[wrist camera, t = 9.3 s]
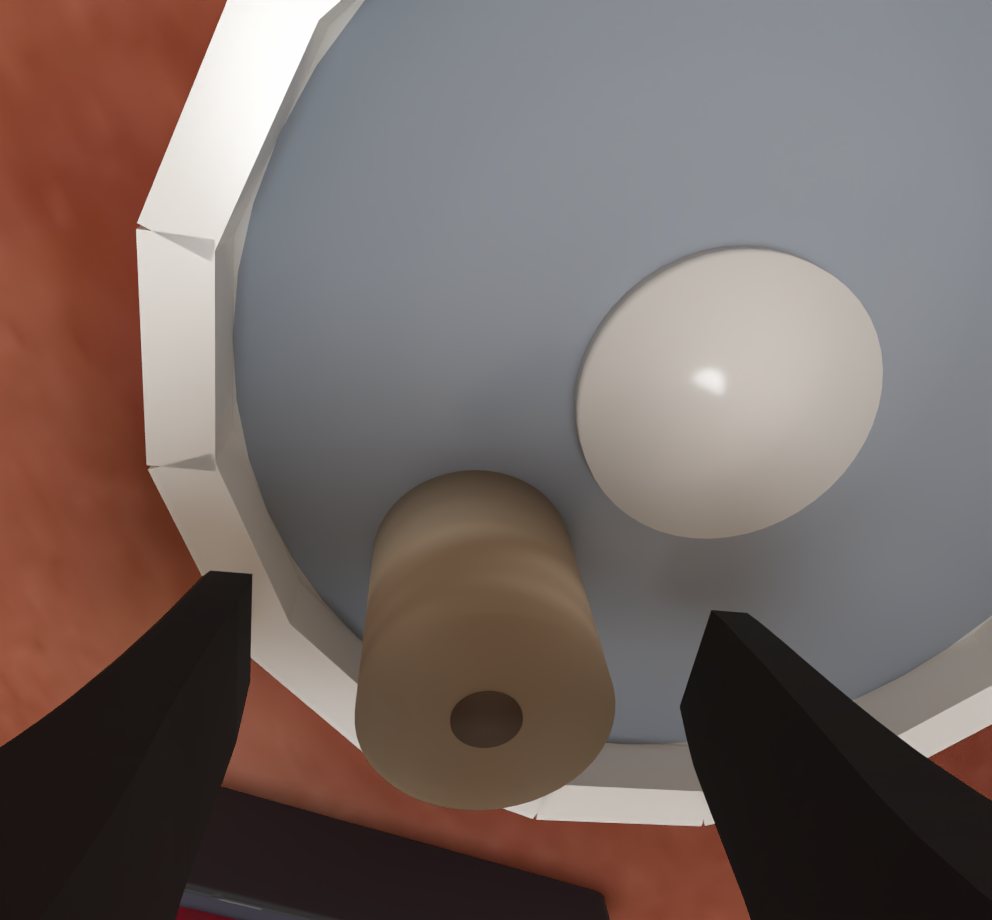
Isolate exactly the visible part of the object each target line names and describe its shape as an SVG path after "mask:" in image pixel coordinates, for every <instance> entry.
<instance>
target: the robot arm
mask: <svg viewBox="0 0 992 920" xmlns="http://www.w3.org/2000/svg"><path fill="white" fill-rule="evenodd" d="M251 616H252V574H249V573H236V572H223V571H211V570H210V571H209V572H208V573H206V574H205V575H204V576H202V577H201V578H200V579H199V580H198V581H197V582H196V584H195V585H194V586H193V587H192V588H191V589H190V590H189V591H188V592H187V593H186V594H185V595H184V596H183V597H182V598H181V599H180V600H179V601H178V602H177V603H176V604H175V605H174V606H173V607H172V608H171V609H170V610H169V611H168V612H167V613H166V614H165V615H164V616H163V617H162V618H161V619H160V620H159V621H158V622H157V623H156V624H155V625H153V626H152V627H151V628H150V629H149V630H148V631H147V632H146V633H145V634H144V635H143V636H141V637H140V638H139V639H138V640H137V641H136V642H135V643H134V644H133V645H132V646H131V647H129V648H128V649H127V650H126V651H125V652H124V653H123V654H122V655H121V656H120V657H118V658H117V659H116V660H115V661H114V662H113V663H111V664H110V665H109V666H108V667H107V668H105V669H104V670H103V671H102V672H101V673H99V674H98V675H97V676H96V677H94V678H93V679H92V680H91V681H90V682H88V683H87V684H86V685H85V686H84V687H82V688H81V689H80V690H79V691H77V692H76V693H75V694H74V695H73V696H71V697H70V698H69V699H67V700H66V701H65V702H63V703H62V704H61V705H59V706H58V707H57V708H56V709H54V710H53V711H52V712H50V713H49V714H47V715H46V716H45V717H43V718H42V719H41V720H39V721H38V722H37V723H35V724H34V725H32V726H31V727H29V728H28V729H26V730H25V731H24V732H22V733H21V734H19V735H18V736H16V737H15V738H14V739H12V740H11V741H9V742H8V743H6V744H5V745H3V746H2V747H0V920H175V919H176V915H177V912H178V909H179V906H180V902H181V899H182V896H183V893H184V889H185V886H186V883H187V880H188V877H189V875H190V872H191V869H192V866H193V863H194V861H195V858H196V855H197V852H198V849H199V846H200V844H201V841H202V838H203V835H204V832H205V830H206V827H207V824H208V821H209V818H210V815H211V813H212V810H213V807H214V804H215V801H216V799H217V796H218V793H219V790H220V787H221V784H222V782H223V779H224V776H225V773H226V770H227V767H228V764H229V762H230V759H231V756H232V753H233V750H234V747H235V744H236V741H237V736H238V732H239V728H240V724H241V719H242V715H243V710H244V706H245V701H246V697H247V692H248V688H249V683H250V661H251ZM680 711H681V716H682V720H683V725H684V729H685V734H686V739H687V743H688V747H689V751H690V755H691V759H692V763H693V766H694V769H695V772H696V775H697V777H698V780H699V783H700V786H701V788H702V791H703V794H704V796H705V799H706V802H707V804H708V807H709V810H710V812H711V815H712V817H713V820H714V823H715V825H716V828H717V830H718V833H719V836H720V838H721V841H722V843H723V846H724V848H725V851H726V854H727V856H728V859H729V861H730V864H731V867H732V869H733V872H734V874H735V877H736V880H737V882H738V885H739V887H740V890H741V893H742V895H743V898H744V901H745V904H746V906H747V909H748V912H749V915H750V918H751V920H992V801H991V800H989V799H988V798H986V797H984V796H983V795H981V794H980V793H978V792H977V791H975V790H974V789H972V788H971V787H969V786H968V785H966V784H965V783H963V782H962V781H960V780H959V779H957V778H956V777H954V776H953V775H951V774H950V773H948V772H947V771H945V770H944V769H942V768H941V767H939V766H938V765H936V764H935V763H934V762H932V761H931V760H929V759H928V758H927V757H925V756H924V755H922V754H921V753H920V752H918V751H917V750H915V749H914V748H913V747H911V746H910V745H909V744H907V743H906V742H905V741H903V740H902V739H901V738H900V737H898V736H897V735H896V734H894V733H893V732H892V731H890V730H889V729H888V728H886V727H885V726H884V725H883V724H881V723H880V722H879V721H877V720H876V719H875V718H874V717H872V716H871V715H870V714H869V713H867V712H866V711H865V710H864V709H862V708H861V707H860V706H859V705H857V704H856V703H855V702H854V701H852V700H851V699H850V698H849V697H848V696H846V695H845V694H844V693H843V692H842V691H840V690H839V689H838V688H837V687H836V686H834V685H833V684H832V683H831V682H830V681H829V680H827V679H826V678H825V677H824V676H823V675H821V674H820V673H819V672H818V671H817V670H816V669H814V668H813V667H812V666H811V665H810V664H809V663H807V662H806V661H805V660H804V659H803V658H802V657H801V656H799V655H798V654H797V653H796V652H795V651H794V650H792V649H791V648H790V647H789V646H788V645H787V644H785V643H784V642H783V641H782V640H781V639H779V638H778V637H777V636H776V635H775V634H774V633H772V632H771V631H770V630H769V629H767V628H766V627H765V626H764V625H763V624H761V623H760V622H759V621H757V620H756V619H755V618H753V617H752V616H751V615H749V614H748V613H743V612H730V611H718V610H711V612H710V616H709V619H708V622H707V625H706V628H705V631H704V634H703V637H702V640H701V643H700V646H699V649H698V652H697V655H696V658H695V661H694V664H693V667H692V670H691V673H690V676H689V679H688V682H687V686H686V689H685V692H684V695H683V698H682V701H681V704H680Z"/></svg>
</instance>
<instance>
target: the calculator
mask: <svg viewBox="0 0 992 920" xmlns="http://www.w3.org/2000/svg"><path fill="white" fill-rule="evenodd" d="M175 920H610V919H609V915H608V911H607V907H606V904H605V900H604V897H603V895H602V894H600V893H599V892H596V891H594V890H590V889H587V888H583V887H580V886H576V885H573V884H569V883H565V882H562V881H558V880H555V879H551V878H547V877H544V876H540V875H537V874H533V873H529V872H526V871H522V870H519V869H515V868H511V867H508V866H504V865H501V864H497V863H493V862H490V861H486V860H483V859H479V858H475V857H472V856H468V855H465V854H461V853H457V852H454V851H450V850H447V849H443V848H439V847H436V846H432V845H429V844H425V843H421V842H418V841H414V840H411V839H407V838H403V837H400V836H396V835H393V834H389V833H385V832H382V831H378V830H375V829H371V828H367V827H364V826H360V825H357V824H353V823H349V822H346V821H342V820H339V819H335V818H331V817H328V816H324V815H320V814H317V813H313V812H310V811H306V810H302V809H299V808H295V807H292V806H288V805H284V804H281V803H277V802H274V801H270V800H266V799H263V798H259V797H256V796H252V795H248V794H245V793H241V792H238V791H234V790H230V789H227V788H223V787H220V790H219V793H218V796H217V799H216V801H215V804H214V807H213V810H212V813H211V815H210V818H209V821H208V824H207V827H206V830H205V832H204V835H203V838H202V841H201V844H200V846H199V849H198V852H197V855H196V858H195V861H194V863H193V866H192V869H191V872H190V875H189V877H188V880H187V883H186V886H185V889H184V893H183V896H182V899H181V902H180V906H179V909H178V912H177V915H176V919H175Z"/></svg>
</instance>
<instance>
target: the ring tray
mask: <svg viewBox="0 0 992 920" xmlns="http://www.w3.org/2000/svg"><path fill="white" fill-rule="evenodd" d="M137 223H138V224H140V225H142V226H140V227H139V228H137V229H136V237H137V259H138V282H139V305H140V328H141V350H142V373H143V396H144V419H145V441H146V464H147V465H151V466H150V467H149V469H148V471H149V473H150V475H151V477H152V479H153V481H154V483H155V485H156V487H157V489H158V491H159V493H160V495H161V497H162V499H163V501H164V503H165V504H166V506H167V508H168V510H169V512H170V514H171V516H172V518H173V520H174V522H175V524H176V526H177V528H178V530H179V532H180V534H181V536H182V538H183V540H184V542H185V544H186V546H187V548H188V550H189V552H190V554H191V556H192V558H193V560H194V561H195V563H196V565H197V567H198V569H199V571H200V573H201V575H202V576H204V575H205V574H206V573H208V572H209V571H210V570H211V571H223V572H236V573H249V574H252V616H251V658H252V659H253V660H254V661H255V662H256V663H258V664H259V665H260V666H261V667H262V668H264V669H265V670H266V671H267V672H268V673H270V674H271V675H272V676H273V677H274V678H275V679H277V680H278V681H279V682H280V683H281V684H283V685H284V686H285V687H286V688H287V689H289V690H290V691H291V692H292V693H293V694H295V695H296V696H297V697H298V698H299V699H300V700H302V701H303V702H304V703H305V704H306V705H308V706H309V707H310V708H311V709H312V710H314V711H315V712H316V713H317V714H318V715H319V716H321V717H322V718H323V719H324V720H325V721H327V722H328V723H329V724H330V725H331V726H333V727H334V728H335V729H336V730H337V731H338V732H340V733H341V734H342V735H343V736H344V737H346V738H347V739H348V740H349V741H350V742H352V743H353V744H354V745H355V746H356V747H357V748H359V749H360V750H361V748H360V745H359V742H358V739H357V736H356V730H355V703H356V695H357V686H358V677H359V669H360V660H361V651H362V643H363V634H364V625H365V617H366V608H367V599H368V591H369V582H370V573H371V565H372V556H373V548H374V543H375V538H376V535H377V532H378V529H379V527H380V525H381V523H382V521H383V519H384V517H385V516H386V514H387V513H388V511H389V510H390V509H391V507H392V506H393V505H394V504H395V503H396V502H397V501H398V500H399V499H400V498H401V497H402V496H403V495H405V494H406V493H407V492H408V491H410V490H411V489H413V488H414V487H416V486H418V485H419V484H421V483H423V482H425V481H427V480H430V479H432V478H434V477H437V476H441V475H444V474H447V473H452V472H458V471H467V470H484V471H492V472H499V473H503V474H506V475H510V476H513V477H515V478H518V479H520V480H522V481H525V482H526V483H528V484H530V485H531V486H533V487H535V488H536V489H537V490H539V491H540V492H541V493H543V494H544V495H545V496H546V497H547V498H548V499H549V500H550V501H551V502H552V503H553V504H554V506H555V507H556V509H557V510H558V511H559V513H560V515H561V517H562V518H563V520H564V522H565V525H566V528H567V531H568V534H569V538H570V541H571V544H572V548H573V551H574V555H575V558H576V561H577V565H578V568H579V572H580V575H581V578H582V582H583V585H584V589H585V592H586V595H587V599H588V602H589V606H590V609H591V612H592V616H593V619H594V623H595V626H596V629H597V633H598V636H599V640H600V643H601V646H602V650H603V653H604V657H605V660H606V663H607V667H608V670H609V674H610V677H611V680H612V684H613V687H614V693H615V700H616V703H615V717H614V722H613V727H612V729H611V732H610V735H609V737H608V740H607V741H606V743H605V745H604V747H603V749H602V750H601V752H600V753H599V754H598V756H597V757H596V758H595V760H594V761H593V762H592V763H591V764H590V765H589V766H588V767H587V768H586V769H585V770H584V771H583V772H582V773H581V774H580V775H578V776H577V777H576V778H575V779H574V780H572V781H571V782H569V783H568V784H566V785H565V786H563V787H562V788H560V789H558V790H556V791H554V792H552V793H550V794H548V795H546V796H544V797H541V798H539V799H536V800H534V801H531V802H527V803H524V804H520V805H517V806H512V807H507V808H503V809H506V810H509V811H512V812H515V813H517V814H520V815H523V816H526V817H528V818H531V819H533V818H534V817H535V816H536V820H558V821H582V822H607V823H632V824H657V825H681V826H701V825H702V823H703V822H704V825H705V826H707V825H711V824H715V823H714V820H713V817H712V815H711V812H710V810H709V807H708V804H707V802H706V799H705V796H704V794H703V791H702V788H701V786H700V783H699V780H698V777H697V775H696V772H695V769H694V766H693V763H692V759H691V755H690V751H689V747H688V743H687V739H686V734H685V729H684V725H683V720H682V716H681V711H680V704H681V701H682V698H683V695H684V692H685V689H686V686H687V682H688V679H689V676H690V673H691V670H692V667H693V664H694V661H695V658H696V655H697V652H698V649H699V646H700V643H701V640H702V637H703V634H704V631H705V628H706V625H707V622H708V619H709V616H710V612H711V610H718V611H730V612H743V613H748V614H749V615H751V616H752V617H753V618H755V619H756V620H757V621H759V622H760V623H761V624H763V625H764V626H765V627H766V628H767V629H769V630H770V631H771V632H772V633H774V634H775V635H776V636H777V637H778V638H779V639H781V640H782V641H783V642H784V643H785V644H787V645H788V646H789V647H790V648H791V649H792V650H794V651H795V652H796V653H797V654H798V655H799V656H801V657H802V658H803V659H804V660H805V661H806V662H807V663H809V664H810V665H811V666H812V667H813V668H814V669H816V670H817V671H818V672H819V673H820V674H821V675H823V676H824V677H825V678H826V679H827V680H829V681H830V682H831V683H832V684H833V685H834V686H836V687H837V688H838V689H839V690H840V691H842V692H843V693H844V694H845V695H846V696H848V697H849V698H850V699H851V700H852V701H854V702H855V703H856V704H857V705H859V706H860V707H861V708H862V709H864V710H865V711H866V712H867V713H869V714H870V715H871V716H872V717H874V718H875V719H876V720H877V721H879V722H880V723H881V724H883V725H884V726H885V727H886V728H888V729H889V730H890V731H892V732H893V733H894V734H896V735H897V736H898V737H900V738H901V739H902V740H903V741H905V742H906V743H907V744H909V745H910V746H911V747H913V748H914V749H915V750H917V751H918V752H920V753H921V754H922V755H924V756H925V757H927V758H928V757H930V756H932V755H934V754H936V753H938V752H940V751H942V750H943V749H945V748H947V747H949V746H951V745H953V744H955V743H957V742H959V741H961V740H963V739H964V738H966V737H968V736H970V735H972V734H974V733H976V732H978V731H980V730H982V729H984V728H985V727H987V726H989V725H991V724H992V0H227V3H226V5H225V8H224V10H223V13H222V15H221V18H220V20H219V22H218V25H217V27H216V30H215V32H214V35H213V37H212V40H211V42H210V45H209V47H208V50H207V52H206V55H205V57H204V59H203V62H202V64H201V67H200V69H199V72H198V74H197V77H196V79H195V82H194V84H193V87H192V89H191V91H190V94H189V96H188V99H187V101H186V104H185V106H184V109H183V111H182V114H181V116H180V119H179V121H178V124H177V126H176V128H175V131H174V133H173V136H172V138H171V141H170V143H169V146H168V148H167V151H166V153H165V156H164V158H163V161H162V163H161V165H160V168H159V170H158V173H157V175H156V178H155V180H154V183H153V185H152V188H151V190H150V193H149V195H148V197H147V200H146V202H145V205H144V207H143V210H142V212H141V215H140V217H139V220H138V222H137ZM361 751H362V750H361Z"/></svg>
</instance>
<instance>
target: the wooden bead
mask: <svg viewBox="0 0 992 920" xmlns="http://www.w3.org/2000/svg"><path fill="white" fill-rule="evenodd" d="M615 703H616V700H615V693H614V687H613V684H612V680H611V677H610V674H609V670H608V667H607V663H606V660H605V657H604V653H603V650H602V646H601V643H600V640H599V636H598V633H597V629H596V626H595V623H594V619H593V616H592V612H591V609H590V606H589V602H588V599H587V595H586V592H585V589H584V585H583V582H582V578H581V575H580V572H579V568H578V565H577V561H576V558H575V555H574V551H573V548H572V544H571V541H570V538H569V534H568V531H567V528H566V525H565V522H564V520H563V518H562V517H561V515H560V513H559V511H558V510H557V509H556V507H555V506H554V504H553V503H552V502H551V501H550V500H549V499H548V498H547V497H546V496H545V495H544V494H543V493H541V492H540V491H539V490H537V489H536V488H535V487H533V486H531V485H530V484H528V483H526V482H525V481H522V480H520V479H518V478H515V477H513V476H510V475H506V474H503V473H499V472H492V471H484V470H467V471H458V472H452V473H447V474H444V475H441V476H437V477H434V478H432V479H430V480H427V481H425V482H423V483H421V484H419V485H418V486H416V487H414V488H413V489H411V490H410V491H408V492H407V493H406V494H405V495H403V496H402V497H401V498H400V499H399V500H398V501H397V502H396V503H395V504H394V505H393V506H392V507H391V509H390V510H389V511H388V513H387V514H386V516H385V517H384V519H383V521H382V523H381V525H380V527H379V529H378V532H377V535H376V538H375V543H374V548H373V556H372V565H371V573H370V582H369V591H368V599H367V608H366V617H365V625H364V634H363V643H362V651H361V660H360V669H359V677H358V686H357V695H356V703H355V730H356V736H357V739H358V742H359V745H360V748H361V750H362V752H363V753H364V755H365V757H366V759H367V761H368V762H369V763H370V764H371V766H372V767H373V768H374V770H375V771H376V772H377V773H378V774H379V775H380V776H381V777H382V778H383V779H385V780H386V781H387V782H388V783H390V784H391V785H392V786H394V787H395V788H397V789H398V790H400V791H402V792H404V793H405V794H407V795H409V796H411V797H414V798H416V799H418V800H421V801H423V802H427V803H430V804H433V805H437V806H441V807H447V808H452V809H461V810H491V809H501V808H507V807H512V806H517V805H520V804H524V803H527V802H531V801H534V800H536V799H539V798H541V797H544V796H546V795H548V794H550V793H552V792H554V791H556V790H558V789H560V788H562V787H563V786H565V785H566V784H568V783H569V782H571V781H572V780H574V779H575V778H576V777H577V776H578V775H580V774H581V773H582V772H583V771H584V770H585V769H586V768H587V767H588V766H589V765H590V764H591V763H592V762H593V761H594V760H595V758H596V757H597V756H598V754H599V753H600V752H601V750H602V749H603V747H604V745H605V743H606V741H607V740H608V737H609V735H610V732H611V729H612V727H613V722H614V717H615Z"/></svg>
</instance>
